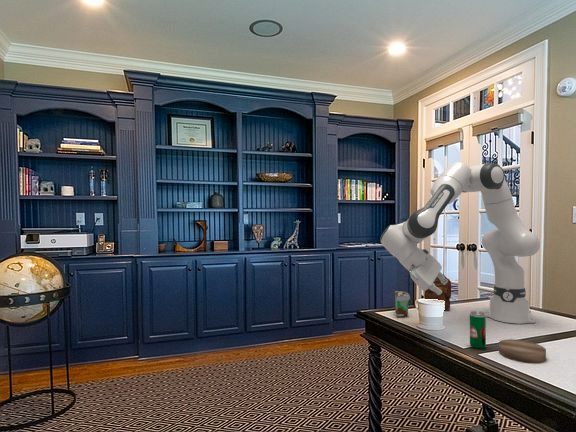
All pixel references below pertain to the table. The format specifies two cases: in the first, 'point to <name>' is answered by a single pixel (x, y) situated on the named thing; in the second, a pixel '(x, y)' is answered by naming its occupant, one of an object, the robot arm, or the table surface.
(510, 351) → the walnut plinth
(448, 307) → the wooden figurine
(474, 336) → the soda can
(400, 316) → the food container
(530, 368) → the table surface
